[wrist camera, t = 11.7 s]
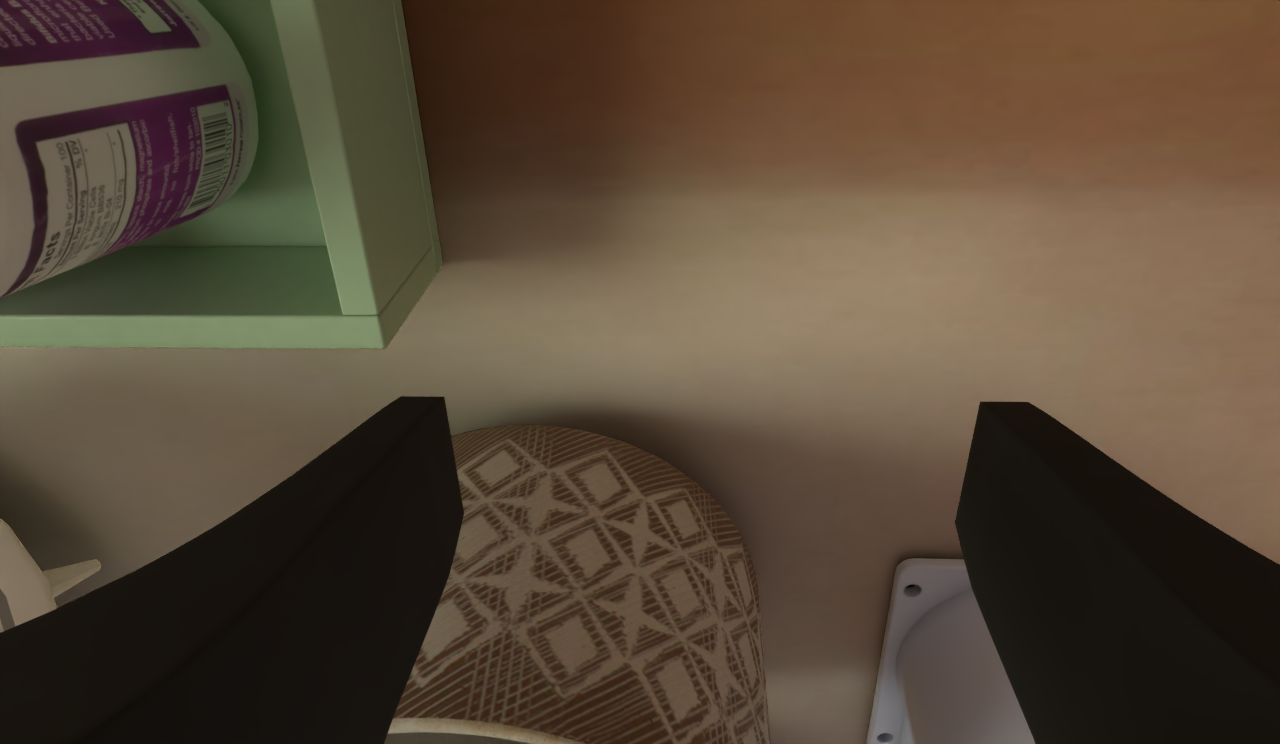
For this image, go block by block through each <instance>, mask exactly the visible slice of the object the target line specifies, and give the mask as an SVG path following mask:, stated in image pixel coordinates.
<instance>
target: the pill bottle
mask: <svg viewBox="0 0 1280 744" xmlns="http://www.w3.org/2000/svg"><path fill="white" fill-rule="evenodd" d="M258 140H259V138H258V114H257V109H256V100H255V95H254V90H253V87H252V80H251V77H250V75H249V73H248V71H247V68H246V66H245V63H244V61H243V59H242V57H241V55H240V54H239V52H238V50H237V48H236V47H235V45H234V43H233V41H232V39H231V38H230V36H229V35H228V34H227V32H226V31H225V30H224V28H223V27H222V26H221V25H220V24H219V23H218V22H217V21H216V20H215V19H214V18H213V17H212V16H211V15H210V13H209V12H208V11H207V10H206V9H205V7H204V6H203V5H202V4H200V3H199V2H198V1H197V0H0V298H2V297H4V296H7V295H9V294H12V293H14V292H17V291H19V290H21V289H24V288H26V287H29V286H31V285H34V284H36V283H39V282H41V281H43V280H46V279H48V278H51V277H53V276H55V275H58V274H60V273H63V272H65V271H68V270H71V269H73V268H76V267H78V266H81V265H83V264H86V263H88V262H90V261H92V260H95V259H98V258H100V257H102V256H105V255H107V254H109V253H112V252H114V251H116V250H119V249H121V248H124V247H126V246H129V245H131V244H134V243H136V242H139V241H141V240H144V239H146V238H148V237H151V236H153V235H155V234H158V233H160V232H163V231H165V230H168V229H170V228H173V227H175V226H177V225H180V224H182V223H184V222H187V221H189V220H192V219H195V218H197V217H199V216H201V215H203V214H205V213H207V212H209V211H212V210H214V209H215V208H217V207H218V206H220V205H222V204H223V203H225V202H226V201H227V200H228V199H229V198H230V197H231V196H232V195H233V194H235V193H236V191H237V189H238V188H239V187H240V186H241V185H242V184H243V183H244V182H245V181H246V179H247V177H248V175H249V173H250V171H251V168H252V165H253V162H254V158H255V154H256V151H257V145H258Z"/></svg>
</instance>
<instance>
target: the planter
mask: <svg viewBox="0 0 1280 744" xmlns="http://www.w3.org/2000/svg"><path fill="white" fill-rule="evenodd" d="M451 439H452V445H453V451H454V457H455V463H456V468H457V474H458V480H459V486H460V492H461V497H462V503H463V509H464V516H463V521H462V525H461V529H460V534H459V538H458V543H457V547H456V551H455V555H454V559H453V563H452V566H451V570H450V574H449V577H448V580H447V583H446V585H445V588H444V591H443V593H442V596H441V598H440V601H439V604H438V606H437V609H436V611H435V614H434V616H433V619H432V622H431V624H430V627H429V629H428V632H427V634H426V637H425V639H424V642H423V644H422V647H421V649H420V652H419V654H418V657H417V659H416V662H415V664H414V667H413V669H412V672H411V674H410V677H409V679H408V682H407V684H406V687H405V689H404V692H403V694H402V697H401V699H400V702H399V704H398V707H397V709H396V712H395V715H394V717H393V720H392V723H391V726H390V728H389V731H388V734H387V737H386V740H385V743H384V744H771V740H770V728H769V716H768V704H767V692H766V679H765V667H764V655H763V643H762V631H761V619H760V607H759V595H758V584H757V578H756V573H755V569H754V566H753V562H752V559H751V557H750V554H749V552H748V549H747V547H746V544H745V542H744V541H743V539H742V537H741V535H740V533H739V531H738V530H737V528H736V527H735V525H734V523H733V522H732V520H731V519H730V518H729V516H728V515H727V514H726V513H725V511H724V510H723V509H722V507H721V506H720V505H719V504H718V503H717V502H716V501H715V500H714V499H713V498H712V497H711V495H710V494H708V493H707V492H706V491H705V490H704V489H703V488H702V487H701V486H700V485H699V484H697V483H696V482H695V481H694V480H692V479H691V478H690V477H688V476H687V475H686V474H684V473H683V472H681V471H680V470H678V469H677V468H675V467H674V466H672V465H671V464H669V463H667V462H666V461H664V460H662V459H660V458H659V457H657V456H655V455H653V454H651V453H649V452H647V451H645V450H642V449H640V448H638V447H635V446H633V445H630V444H628V443H626V442H623V441H620V440H617V439H614V438H611V437H608V436H604V435H600V434H596V433H592V432H588V431H583V430H578V429H573V428H565V427H557V426H544V425H512V426H499V427H492V428H485V429H479V430H475V431H470V432H465V433H462V434H459V435H455V436H452V437H451Z"/></svg>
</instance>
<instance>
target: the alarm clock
mask: <svg viewBox="0 0 1280 744" xmlns="http://www.w3.org/2000/svg"><path fill="white" fill-rule="evenodd" d="M100 569H101V564H100V562H99V561H98V560H97V559H94V560H90V561H85V562H81V563H77V564H72V565H68V566H64V567H59V568H55V569H51V570H46V571H41V569H40V568H39V567H38V565H37V564H36V563H35V561H34V560H33V558H32V557H31V556H30V554H29V553H28V551H27V550H26V549H25V547H24V546H23V544H22V543H21V542H20V540H19V539H18V538H17V536H16V535H15V533H14V532H13V531H12V529H11V528H10V526H9V525H8V524H7V523H6V522H4V521H3V520H2V519H1V518H0V633H1V632H3V631H6V630H8V629H10V628H13V627H15V626H17V625H20V624H22V623H25V622H27V621H29V620H32V619H34V618H36V617H39V616H41V615H43V614H46V613H48V612H50V611H52V610H55V609H57V607H56V604H55V601H54V598H55V597H56V596H58V595H60V594H61V593H63V592H64V591H66V590H68V589H69V588H71V587H73V586H74V585H76V584H78V583H79V582H81V581H83V580H84V579H86V578H87V577H89V576H91V575H92V574H94V573H96V572H97V571H99V570H100Z"/></svg>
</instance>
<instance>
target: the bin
mask: <svg viewBox="0 0 1280 744" xmlns="http://www.w3.org/2000/svg"><path fill="white" fill-rule="evenodd" d="M197 1H198V2H199V3H200V4H202V5H203V6H204V7H205V9H206V10H207V11H208V12H209V13H210V15H211V16H212V17H213V18H214V19H215V20H216V21H217V22H218V23H219V24H220V25H221V26H222V27H223V28H224V30H225V31H226V32H227V34H228V35H229V36H230V38H231V39H232V41H233V43H234V45H235V47H236V48H237V50H238V52H239V54H240V55H241V57H242V59H243V61H244V63H245V66H246V68H247V71H248V73H249V75H250V77H251V80H252V87H253V90H254V95H255V100H256V109H257V114H258V138H259V140H258V145H257V151H256V154H255V158H254V162H253V165H252V168H251V171H250V173H249V175H248V177H247V179H246V181H245V182H244V183H243V184H242V185H241V186H240V187H239V188H238V189H237V191H236V193H235V194H233V195H232V196H231V197H230V198H229V199H228V200H227V201H226V202H225V203H223V204H222V205H220V206H218V207H217V208H215V209H214V210H212V211H209V212H207V213H205V214H203V215H201V216H199V217H197V218H195V219H192V220H189V221H187V222H184V223H182V224H180V225H177V226H175V227H173V228H170V229H168V230H165V231H163V232H160V233H158V234H155V235H153V236H151V237H148V238H146V239H144V240H141V241H139V242H136V243H134V244H131V245H129V246H126V247H124V248H121V249H119V250H116V251H114V252H112V253H109V254H107V255H105V256H102V257H100V258H98V259H95V260H92V261H90V262H88V263H86V264H83V265H81V266H78V267H76V268H73V269H71V270H68V271H65V272H63V273H60V274H58V275H55V276H53V277H51V278H48V279H46V280H43V281H41V282H39V283H36V284H34V285H31V286H29V287H26V288H24V289H21V290H19V291H17V292H14V293H12V294H9V295H7V296H4V297H2V298H0V347H114V348H309V349H384V348H386V347H387V346H388V344H389V343H390V341H391V340H392V338H393V337H394V336H395V334H396V333H397V331H398V330H399V328H400V327H401V325H402V324H403V322H404V321H405V319H406V318H407V316H408V315H409V313H410V312H411V311H412V309H413V308H414V306H415V305H416V303H417V302H418V300H419V299H420V297H421V296H422V294H423V293H424V291H425V290H426V288H427V287H428V286H429V284H430V283H431V281H432V280H433V278H434V277H435V275H436V273H438V271H439V270H440V268H441V267H442V265H443V261H442V255H441V249H440V242H439V236H438V230H437V223H436V217H435V211H434V204H433V198H432V192H431V186H430V179H429V173H428V167H427V160H426V154H425V148H424V141H423V135H422V129H421V122H420V116H419V110H418V104H417V97H416V91H415V85H414V78H413V72H412V66H411V59H410V53H409V47H408V40H407V34H406V28H405V21H404V15H403V9H402V3H401V0H197Z"/></svg>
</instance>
